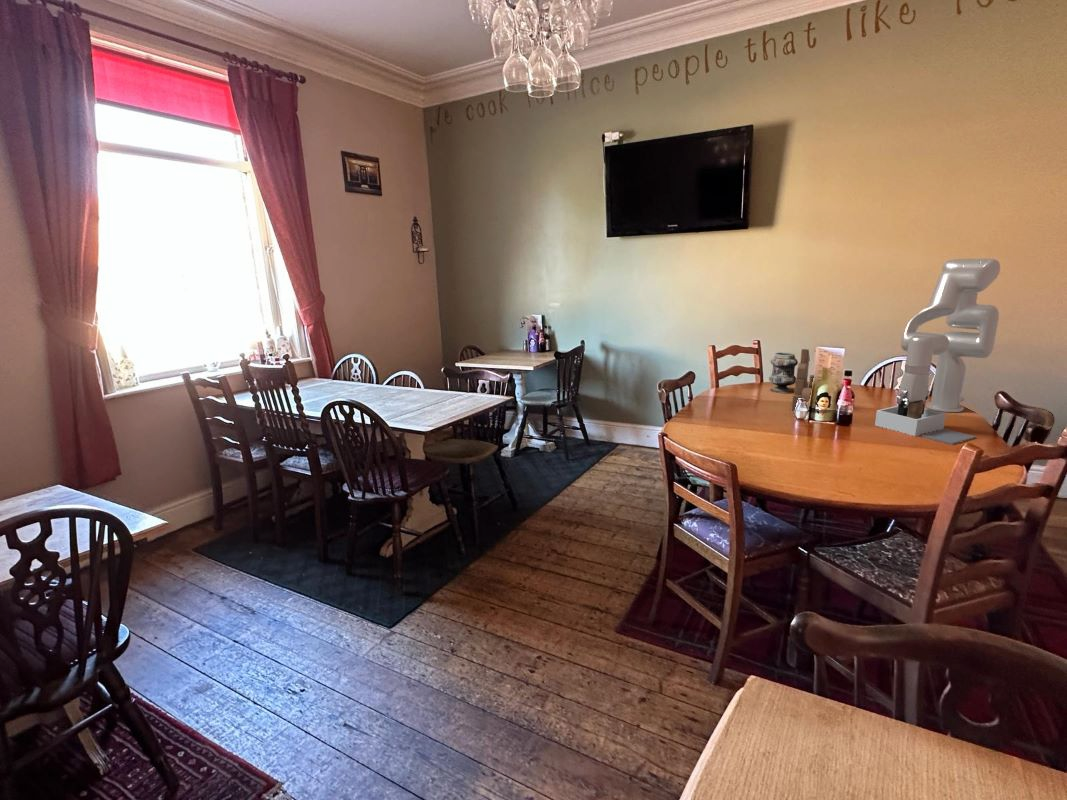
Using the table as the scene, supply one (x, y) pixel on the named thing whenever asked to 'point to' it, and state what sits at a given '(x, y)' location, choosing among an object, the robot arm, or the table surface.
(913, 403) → the walnut block
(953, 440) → the slate mat
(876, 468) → the table surface
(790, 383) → the apothecary jar
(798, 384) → the wooden toy
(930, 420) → the box
